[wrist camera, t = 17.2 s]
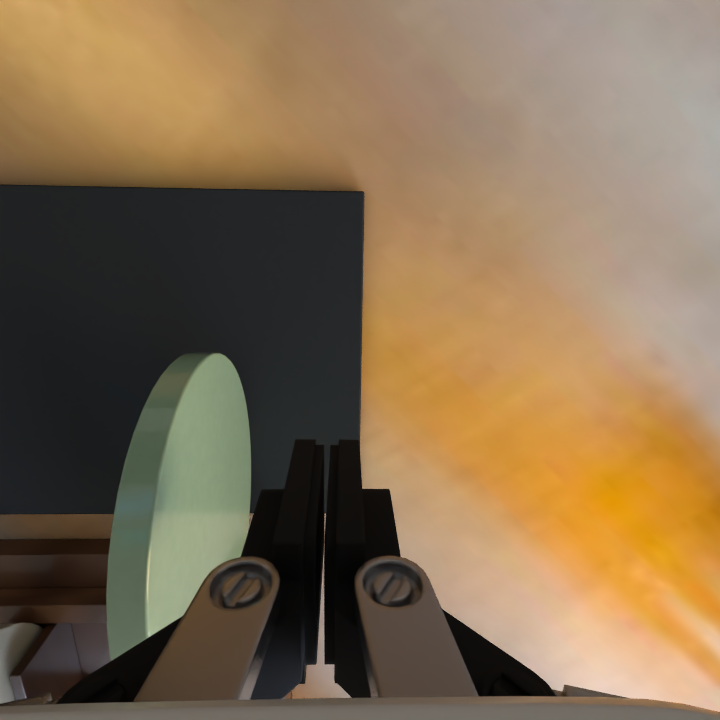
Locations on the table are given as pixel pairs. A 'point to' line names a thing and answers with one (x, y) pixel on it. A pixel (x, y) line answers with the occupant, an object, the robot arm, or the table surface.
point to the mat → (170, 325)
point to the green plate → (178, 497)
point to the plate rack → (57, 610)
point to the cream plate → (14, 652)
